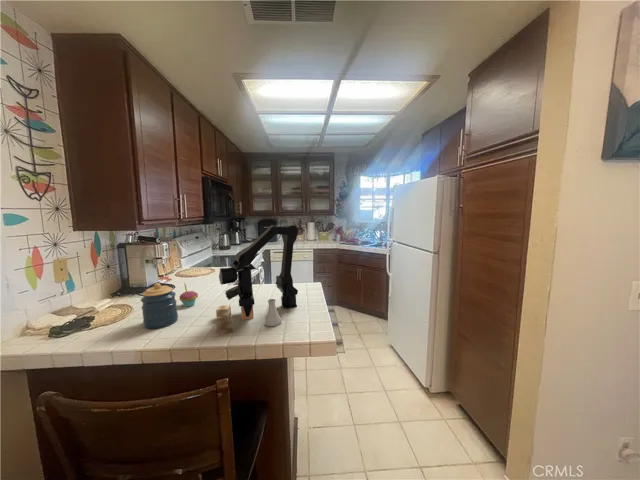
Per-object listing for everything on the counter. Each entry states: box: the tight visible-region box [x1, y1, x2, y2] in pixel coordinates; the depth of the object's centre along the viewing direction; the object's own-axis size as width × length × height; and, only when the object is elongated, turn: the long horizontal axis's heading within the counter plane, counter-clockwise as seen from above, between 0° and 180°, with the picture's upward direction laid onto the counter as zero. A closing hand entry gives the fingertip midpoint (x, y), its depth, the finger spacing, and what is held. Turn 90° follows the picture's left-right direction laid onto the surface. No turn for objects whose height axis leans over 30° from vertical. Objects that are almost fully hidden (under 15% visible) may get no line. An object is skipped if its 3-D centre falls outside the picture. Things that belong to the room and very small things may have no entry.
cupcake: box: [178, 281, 199, 308], centre depth 135 cm, size 9×8×12 cm
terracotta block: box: [240, 306, 254, 321], centre depth 119 cm, size 5×5×5 cm
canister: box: [140, 282, 179, 330], centre depth 115 cm, size 13×13×18 cm
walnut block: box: [215, 316, 234, 337], centre depth 105 cm, size 5×5×5 cm
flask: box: [264, 298, 282, 327], centre depth 111 cm, size 7×7×10 cm
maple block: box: [215, 304, 232, 319], centre depth 118 cm, size 5×5×5 cm
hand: (247, 314), depth 119 cm, fingers closed on terracotta block, 5 cm apart
